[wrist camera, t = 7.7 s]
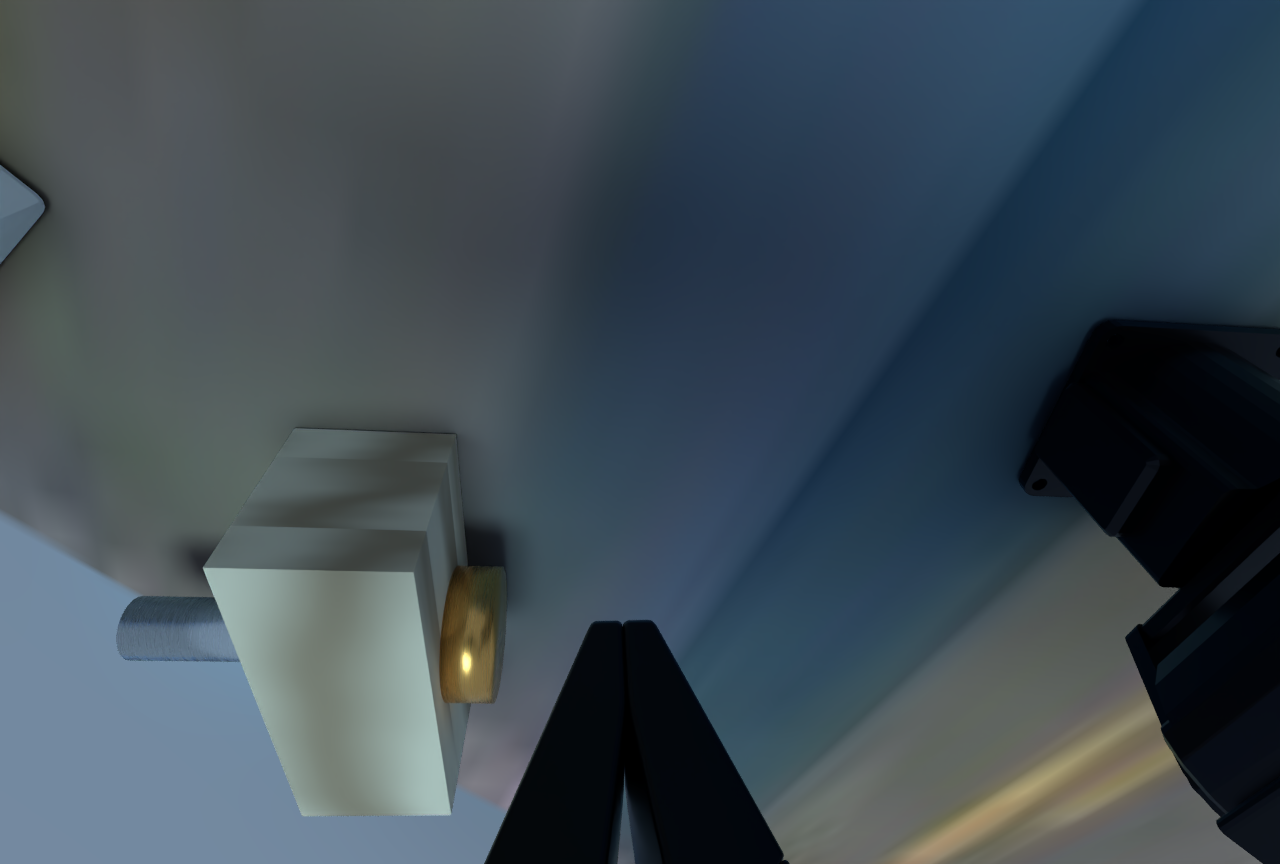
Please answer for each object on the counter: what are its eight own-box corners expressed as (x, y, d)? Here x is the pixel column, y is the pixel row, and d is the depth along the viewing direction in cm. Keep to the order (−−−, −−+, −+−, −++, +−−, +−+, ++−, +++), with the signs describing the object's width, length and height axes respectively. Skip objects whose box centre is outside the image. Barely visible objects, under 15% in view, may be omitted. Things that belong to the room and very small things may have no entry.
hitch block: (456, 434, 22) (413, 572, 17) (477, 668, 29) (451, 815, 24) (294, 427, 21) (202, 567, 17) (354, 666, 28) (302, 816, 23)
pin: (504, 539, 23) (486, 645, 20) (508, 624, 26) (493, 731, 22) (152, 530, 23) (66, 639, 19) (191, 619, 25) (122, 730, 21)
